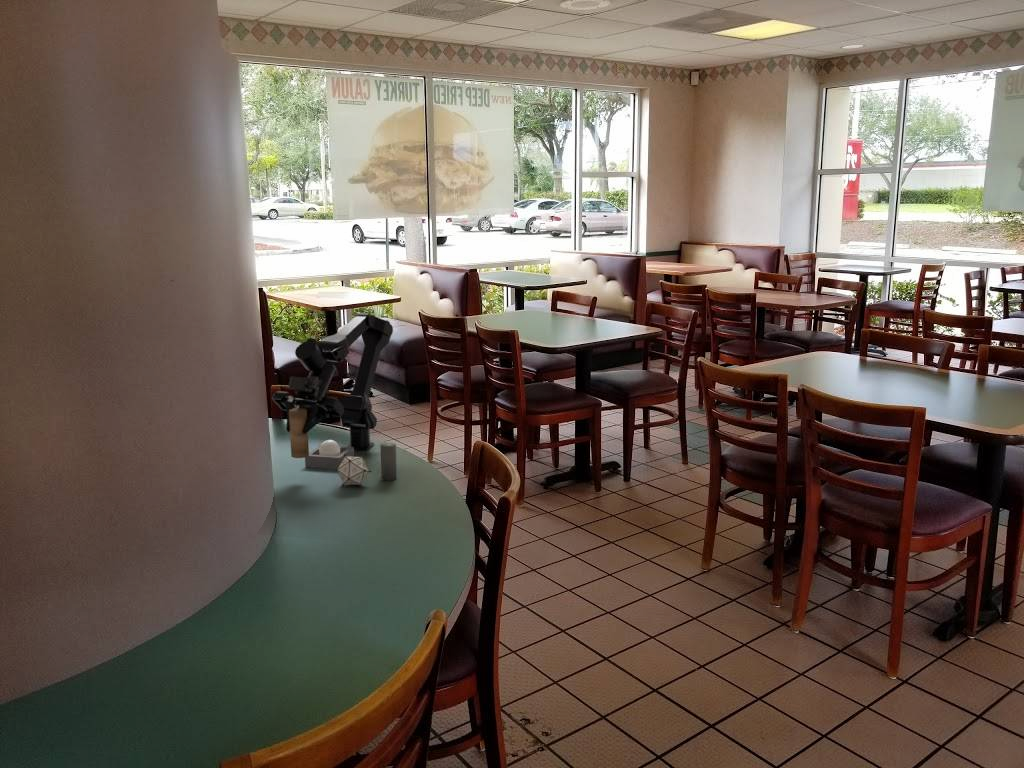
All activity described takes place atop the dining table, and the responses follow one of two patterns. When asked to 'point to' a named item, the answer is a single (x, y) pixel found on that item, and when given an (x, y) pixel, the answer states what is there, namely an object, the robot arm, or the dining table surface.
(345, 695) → the dining table surface
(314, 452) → the box
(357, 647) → the dining table surface
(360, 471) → the grey faceted polyhedron
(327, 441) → the dome
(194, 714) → the dining table surface
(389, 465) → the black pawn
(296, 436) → the walnut pawn
